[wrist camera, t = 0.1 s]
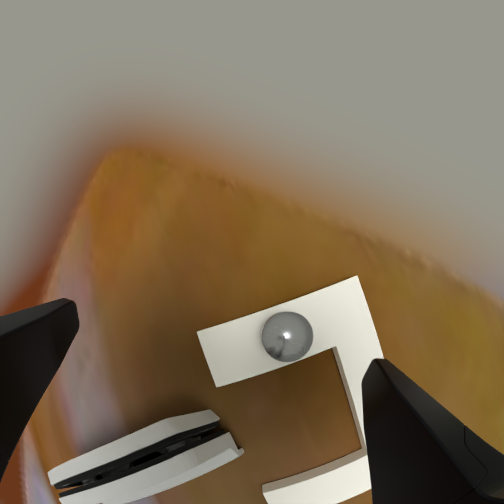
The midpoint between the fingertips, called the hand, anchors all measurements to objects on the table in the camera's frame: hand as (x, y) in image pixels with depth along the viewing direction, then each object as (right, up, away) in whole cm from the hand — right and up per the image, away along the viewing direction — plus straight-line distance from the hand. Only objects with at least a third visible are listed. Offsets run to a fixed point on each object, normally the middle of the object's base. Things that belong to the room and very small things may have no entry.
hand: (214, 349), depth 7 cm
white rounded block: (-8, -16, +12) cm, 22 cm away
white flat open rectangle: (+6, -11, +13) cm, 18 cm away
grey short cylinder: (+3, -3, +13) cm, 14 cm away
